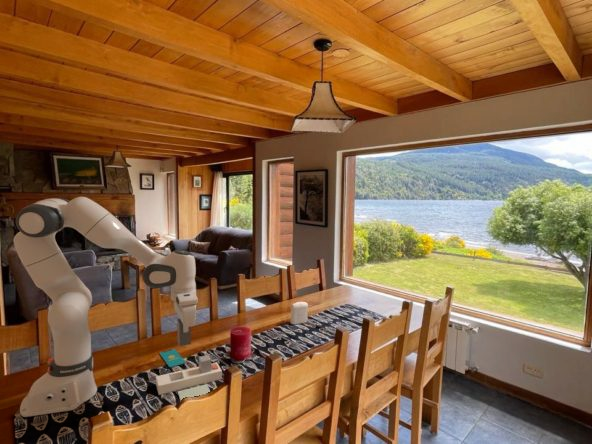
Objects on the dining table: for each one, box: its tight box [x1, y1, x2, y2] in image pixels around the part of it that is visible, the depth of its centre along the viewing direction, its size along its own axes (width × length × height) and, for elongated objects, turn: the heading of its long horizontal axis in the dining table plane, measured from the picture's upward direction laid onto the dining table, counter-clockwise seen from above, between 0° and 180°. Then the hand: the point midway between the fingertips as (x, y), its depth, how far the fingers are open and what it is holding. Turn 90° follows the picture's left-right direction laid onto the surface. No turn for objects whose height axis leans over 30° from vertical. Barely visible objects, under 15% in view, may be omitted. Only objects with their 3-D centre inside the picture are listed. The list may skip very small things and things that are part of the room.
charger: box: [176, 318, 192, 347], centre depth 128 cm, size 4×4×9 cm
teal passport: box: [159, 348, 187, 369], centre depth 151 cm, size 7×1×15 cm
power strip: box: [155, 354, 223, 396], centre depth 134 cm, size 24×7×8 cm, turn 120°
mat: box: [177, 383, 211, 402], centre depth 127 cm, size 11×7×1 cm, turn 120°
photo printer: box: [289, 301, 309, 325], centre depth 196 cm, size 10×4×12 cm, turn 116°
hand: (183, 328), depth 128 cm, fingers closed on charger, 4 cm apart
